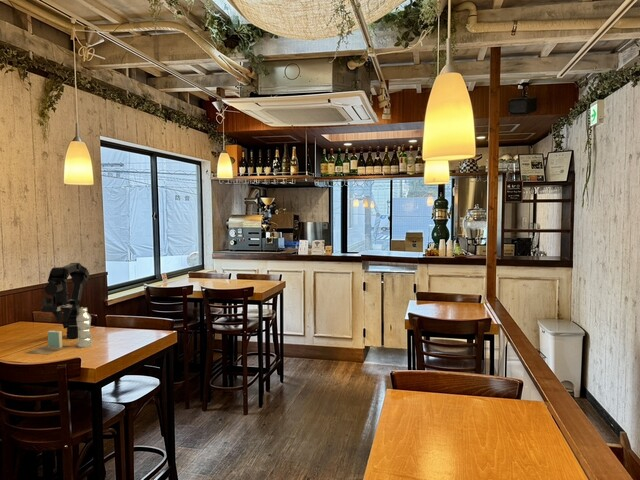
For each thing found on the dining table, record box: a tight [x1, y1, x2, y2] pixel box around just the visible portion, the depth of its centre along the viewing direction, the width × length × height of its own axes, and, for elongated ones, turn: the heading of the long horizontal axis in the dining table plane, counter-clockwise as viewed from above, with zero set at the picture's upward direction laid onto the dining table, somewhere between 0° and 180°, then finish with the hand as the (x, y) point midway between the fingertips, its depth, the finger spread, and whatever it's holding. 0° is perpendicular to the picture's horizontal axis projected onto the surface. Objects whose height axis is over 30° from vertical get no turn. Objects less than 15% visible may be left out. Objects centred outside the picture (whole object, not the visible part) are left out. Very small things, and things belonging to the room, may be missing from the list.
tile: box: [47, 330, 63, 348], centre depth 214 cm, size 2×7×8 cm, turn 76°
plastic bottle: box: [76, 306, 93, 349], centre depth 214 cm, size 6×7×20 cm
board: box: [25, 344, 72, 356], centre depth 210 cm, size 14×14×1 cm
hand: (62, 322), depth 218 cm, fingers open, 3 cm apart
